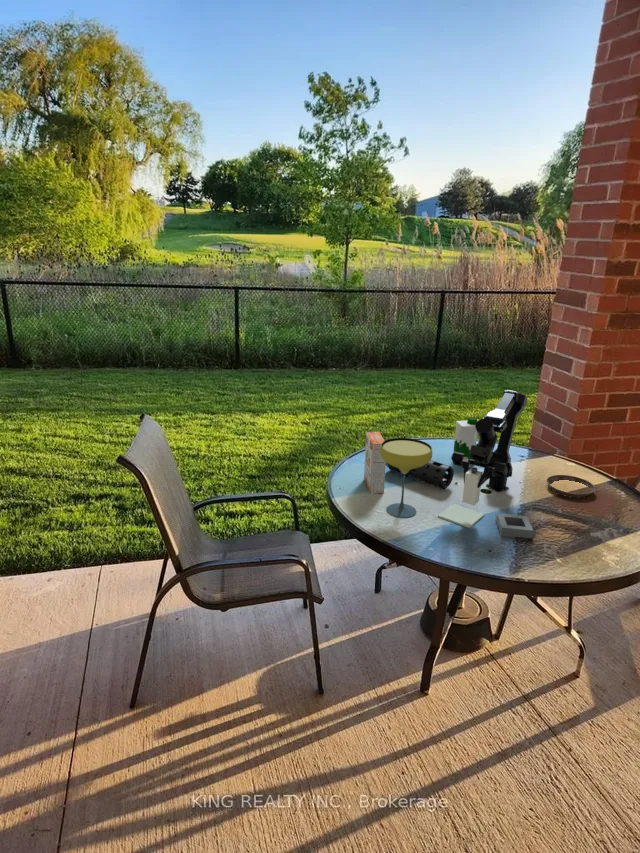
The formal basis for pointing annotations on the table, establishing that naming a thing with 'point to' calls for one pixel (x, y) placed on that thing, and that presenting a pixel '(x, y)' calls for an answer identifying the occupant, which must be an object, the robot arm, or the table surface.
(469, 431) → the milk carton
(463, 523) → the rubber mat
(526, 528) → the socket collar
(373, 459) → the cracker box
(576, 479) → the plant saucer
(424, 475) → the muzzle brake
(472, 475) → the plug
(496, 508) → the table surface
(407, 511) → the cocktail glass
